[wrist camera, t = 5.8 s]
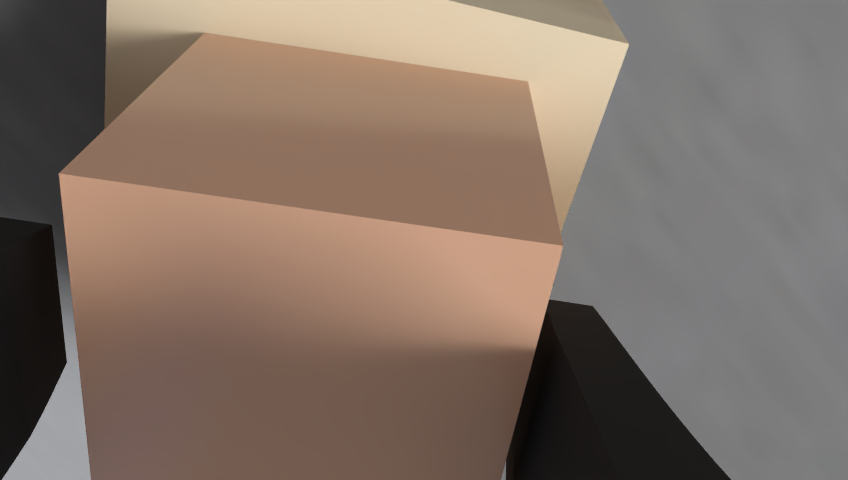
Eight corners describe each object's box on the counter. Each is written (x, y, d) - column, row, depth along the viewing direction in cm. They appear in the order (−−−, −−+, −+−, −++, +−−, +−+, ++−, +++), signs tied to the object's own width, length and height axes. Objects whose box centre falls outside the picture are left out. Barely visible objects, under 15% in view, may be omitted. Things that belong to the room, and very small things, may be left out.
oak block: (488, 320, 17) (492, 419, 14) (158, 250, 16) (100, 339, 14) (596, -8, 13) (629, 44, 11) (181, -110, 13) (108, -82, 10)
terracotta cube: (472, 337, 13) (477, 568, 9) (205, 300, 13) (95, 519, 9) (527, 81, 11) (562, 245, 7) (204, 32, 11) (59, 173, 7)
